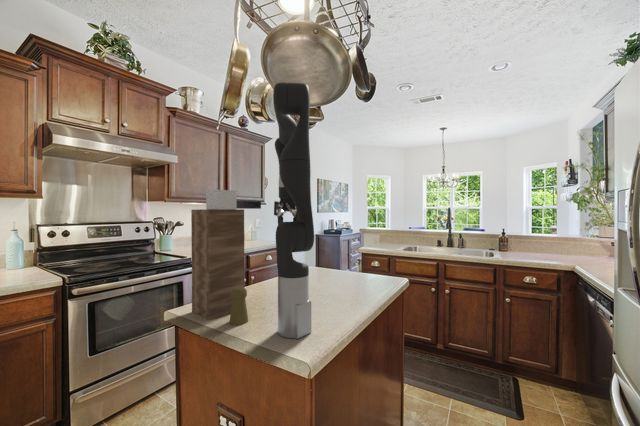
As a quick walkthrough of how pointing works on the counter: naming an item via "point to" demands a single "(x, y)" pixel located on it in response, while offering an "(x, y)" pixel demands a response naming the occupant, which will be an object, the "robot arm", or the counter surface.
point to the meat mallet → (228, 201)
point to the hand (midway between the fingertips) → (288, 226)
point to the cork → (238, 307)
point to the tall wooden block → (216, 259)
